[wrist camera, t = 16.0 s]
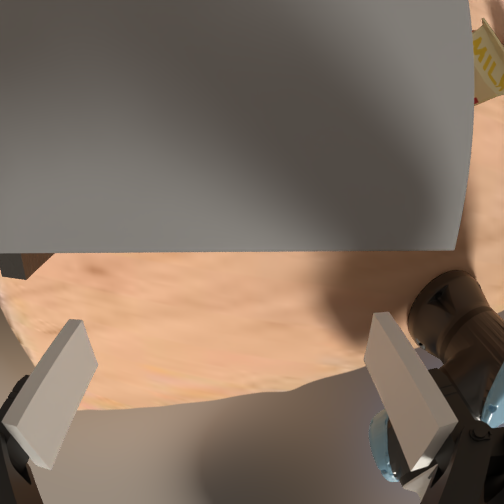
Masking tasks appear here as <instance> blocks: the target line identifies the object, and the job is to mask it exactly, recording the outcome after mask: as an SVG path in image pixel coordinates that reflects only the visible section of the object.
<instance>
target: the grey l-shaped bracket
mask: <svg viewBox="0 0 504 504" xmlns="http://www.w3.org/2000/svg"><path fill="white" fill-rule="evenodd" d="M53 254H54V253H0V270H1V274H2V277H9V278H16V279H24V280H27V279H28V278H29V277H30V276H31V275H32V274H33V273H34V272H35V271H36V270H37V269H38V268H39V267H40V266H41V265H42V264H43V263H45V262H46V261H47V260H48V259H49V258H50V257H51V256H52V255H53Z"/></svg>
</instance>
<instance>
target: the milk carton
mask: <svg viewBox="0 0 504 504" xmlns="http://www.w3.org/2000/svg"><path fill="white" fill-rule="evenodd" d="M482 23H483V25H482V26H481V27H480V28H479V29H478V30H472V38H473V53H474V106H475V105H478V104H480V103H482V102H485V101H487V100H490V99H492V98H495V97H497V96H501V95H504V47H503V45H502V44H501V42H500V40H499V39H498V37H497V36H496V34H495V33H494V32H493V30H492V29H491V27H490V26H489V24H488V23H487V22H486V20H485V19H484V18H482Z"/></svg>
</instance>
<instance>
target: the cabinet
mask: <svg viewBox="0 0 504 504" xmlns="http://www.w3.org/2000/svg"><path fill="white" fill-rule="evenodd" d="M473 119H474V53H473V38H472V26H471V17H470V9H469V2H468V0H0V253H127V252H279V251H440V250H455V245H456V241H457V237H458V232H459V227H460V222H461V217H462V212H463V206H464V201H465V194H466V188H467V181H468V174H469V166H470V157H471V147H472V135H473Z"/></svg>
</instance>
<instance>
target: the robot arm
mask: <svg viewBox="0 0 504 504" xmlns="http://www.w3.org/2000/svg"><path fill="white" fill-rule="evenodd" d="M408 329H409V333H410V335H411V337H412V338H413V339H414V341H415V342H416V344H417V345H418V346H419V347H420V348H422V349H424V350H426V351H427V352H428V353H430V354H432V355H433V356H435V357H437V358H438V359H440V360H441V361H442V363H443V364H444V365H443V366H442V367H440V368H439V369H437V368H434V369H430V370H427V368H426V367H425V365H424V364H423V362H422V361H421V359H420V357H419V356H418V354H417V353H416V351H415V350H414V348H413V347H412V345H411V344H410V342H409V341H408V339H407V338H406V336H405V335H404V333H403V332H402V330H401V329H400V327H399V326H398V324H397V323H396V321H395V320H394V318H393V317H392V316H391V314H390V313H389V311H388V312H378V313H373V318H372V323H371V328H370V333H369V338H368V342H367V347H366V351H365V356H364V362H365V364H366V366H367V368H368V371H369V373H370V375H371V377H372V380H373V382H374V384H375V386H376V389H377V391H378V393H379V395H380V398H381V400H382V403H383V405H384V407H385V409H383V410H382V411H381V412H379V413H377V414H376V415H375V416H374V417H373V419H372V420H371V423H370V428H369V441H370V447H371V451H372V454H373V457H374V460H375V462H376V465H377V466H378V468H379V469H380V470H381V472H382V475H383V476H384V478H386V480H388V481H390V482H398V481H400V482H401V484H402V487H403V489H407V490H411V491H415V492H416V493H418V495H419V497H420V499H421V503H420V504H504V427H501V428H497V427H498V426H499V425H500V424H503V423H504V320H503V319H502V318H501V317H500V316H499V315H498V314H497V313H496V312H495V311H494V310H493V309H492V308H491V307H490V306H489V304H488V302H487V300H486V298H485V296H484V294H483V292H482V289H481V287H480V285H479V283H478V282H477V281H476V280H475V279H474V278H473V277H472V276H471V275H469V274H468V273H466V272H464V271H459V270H456V271H450V272H447V273H444V274H442V275H440V276H439V277H437V278H435V279H434V280H433V281H432V282H430V283H429V284H428V285H427V286H426V287H425V288H424V289H423V290H422V292H421V293H420V294H419V296H418V297H417V299H416V300H415V302H414V304H413V306H412V308H411V311H410V314H409V319H408ZM97 367H98V363H97V360H96V358H95V355H94V352H93V349H92V347H91V344H90V341H89V338H88V335H87V332H86V329H85V326H84V323H83V320H74V319H69V320H68V322H67V323H66V324H65V326H64V327H63V328H62V330H61V331H60V333H59V334H58V335H57V337H56V338H55V340H54V341H53V342H52V344H51V345H50V347H49V348H48V349H47V351H46V352H45V354H44V355H43V357H42V358H41V360H40V361H39V363H38V364H37V366H36V367H35V369H34V370H33V372H32V373H31V375H25V376H24V377H23V378H22V379H20V380H19V381H18V382H17V384H16V385H15V387H14V388H13V390H12V392H11V393H10V394H9V396H8V399H6V401H5V402H4V404H3V405H2V407H1V409H0V504H43V502H42V499H41V496H40V494H39V491H38V488H37V486H36V483H35V480H34V477H33V474H32V471H31V468H30V467H29V465H28V464H27V462H28V459H29V458H30V459H31V460H32V461H33V462H34V463H35V464H36V466H39V467H42V468H46V469H49V470H52V467H53V465H54V462H55V460H56V457H57V455H58V452H59V450H60V448H61V445H62V443H63V440H64V438H65V436H66V433H67V431H68V429H69V427H70V424H71V422H72V419H73V417H74V415H75V413H76V411H77V409H78V406H79V404H80V402H81V400H82V398H83V396H84V394H85V391H86V389H87V387H88V385H89V383H90V381H91V379H92V377H93V375H94V373H95V371H96V369H97Z"/></svg>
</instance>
